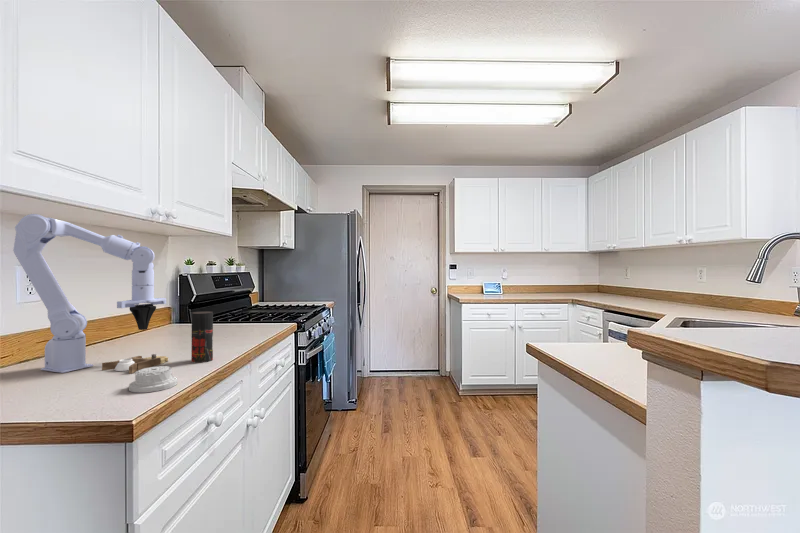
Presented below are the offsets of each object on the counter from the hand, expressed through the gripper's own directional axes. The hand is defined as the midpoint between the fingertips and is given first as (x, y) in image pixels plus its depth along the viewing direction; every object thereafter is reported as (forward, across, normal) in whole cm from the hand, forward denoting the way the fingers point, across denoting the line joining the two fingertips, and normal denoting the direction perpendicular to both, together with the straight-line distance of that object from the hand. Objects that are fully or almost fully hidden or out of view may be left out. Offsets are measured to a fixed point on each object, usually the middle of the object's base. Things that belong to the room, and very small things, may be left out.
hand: (142, 329), depth 118 cm
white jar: (+10, -8, -4) cm, 13 cm away
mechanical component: (+10, -17, -26) cm, 32 cm away
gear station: (+10, -3, -4) cm, 11 cm away
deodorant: (+10, +7, -16) cm, 20 cm away
